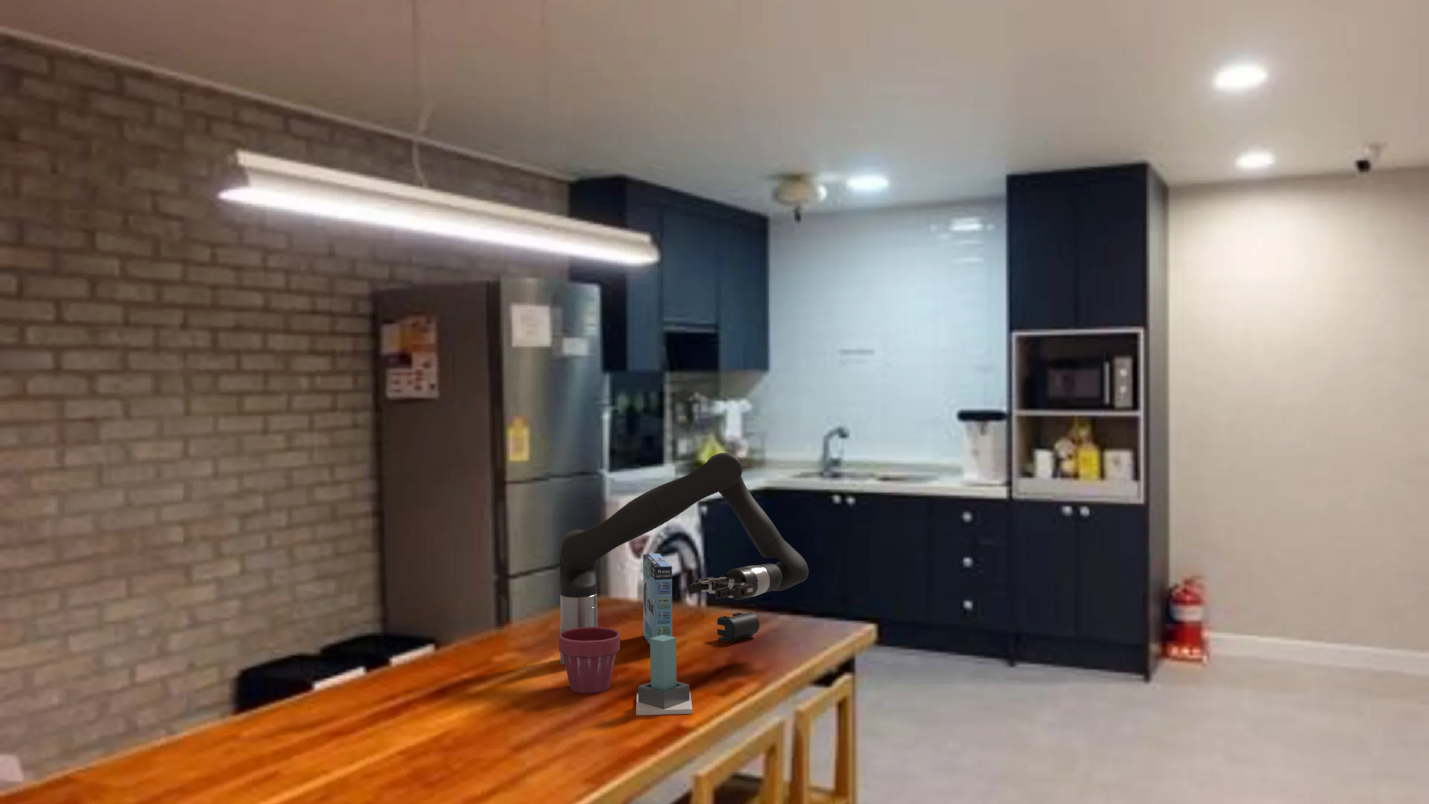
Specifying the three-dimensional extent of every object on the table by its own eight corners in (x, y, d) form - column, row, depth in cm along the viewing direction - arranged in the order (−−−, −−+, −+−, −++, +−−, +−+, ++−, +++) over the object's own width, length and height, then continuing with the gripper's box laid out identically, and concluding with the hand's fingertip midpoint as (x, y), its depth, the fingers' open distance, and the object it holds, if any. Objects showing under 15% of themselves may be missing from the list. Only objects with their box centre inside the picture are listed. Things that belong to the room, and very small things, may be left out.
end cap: (735, 645, 286) (734, 620, 286) (716, 640, 292) (715, 615, 291) (760, 638, 294) (759, 613, 293) (741, 633, 299) (741, 609, 298)
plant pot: (631, 683, 253) (631, 629, 252) (601, 700, 240) (600, 643, 240) (580, 676, 259) (579, 624, 258) (547, 692, 246) (546, 637, 246)
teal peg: (664, 705, 233) (663, 641, 232) (651, 701, 235) (650, 638, 235) (676, 700, 236) (675, 637, 235) (663, 697, 238) (662, 634, 238)
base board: (636, 715, 229) (636, 710, 229) (637, 698, 241) (637, 693, 241) (692, 713, 230) (692, 709, 230) (690, 696, 242) (690, 692, 242)
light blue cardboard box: (643, 635, 297) (642, 554, 296) (661, 634, 298) (660, 553, 298) (654, 654, 278) (653, 566, 278) (673, 652, 279) (672, 565, 279)
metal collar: (664, 709, 230) (664, 693, 230) (638, 702, 235) (638, 686, 235) (689, 700, 236) (689, 684, 236) (663, 693, 241) (663, 678, 241)
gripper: (726, 563, 269) (681, 572, 257) (769, 570, 259) (725, 580, 247) (725, 592, 269) (681, 603, 257) (769, 601, 260) (725, 612, 248)
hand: (703, 591), depth 252 cm, fingers open, 8 cm apart
